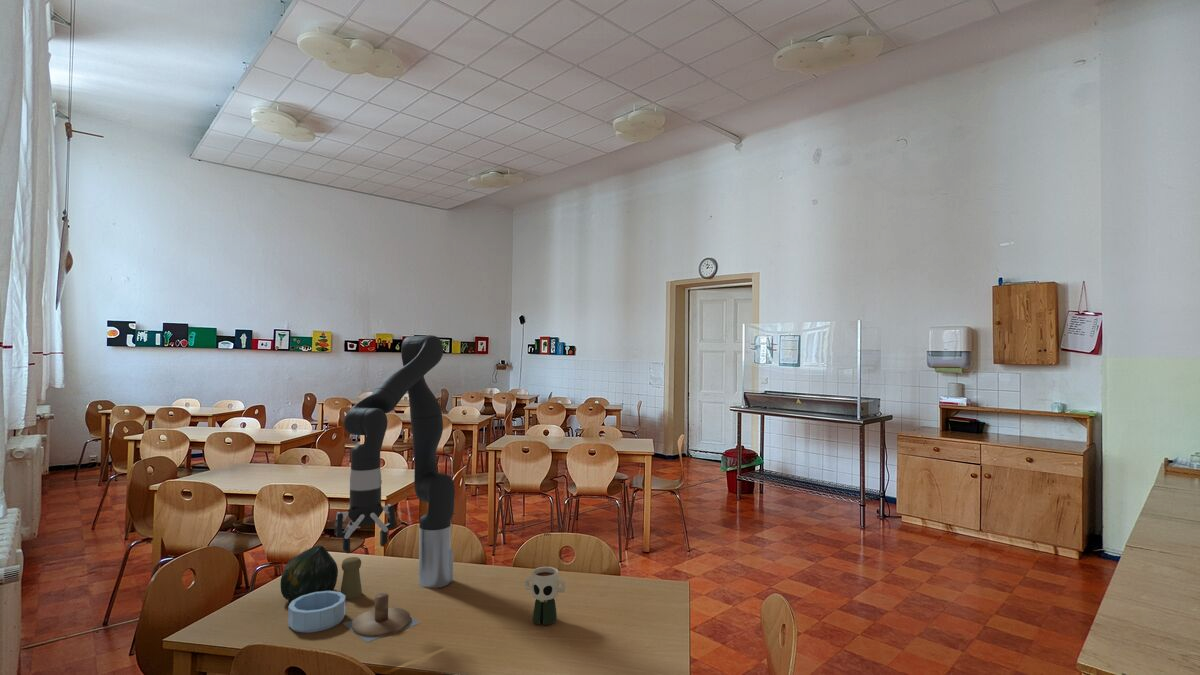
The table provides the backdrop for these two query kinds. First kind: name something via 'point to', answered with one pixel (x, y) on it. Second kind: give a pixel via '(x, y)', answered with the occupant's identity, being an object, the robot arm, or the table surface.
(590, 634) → the table surface
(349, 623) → the mat
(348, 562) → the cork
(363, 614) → the lid
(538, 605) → the character mug
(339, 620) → the bowl
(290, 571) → the squash
